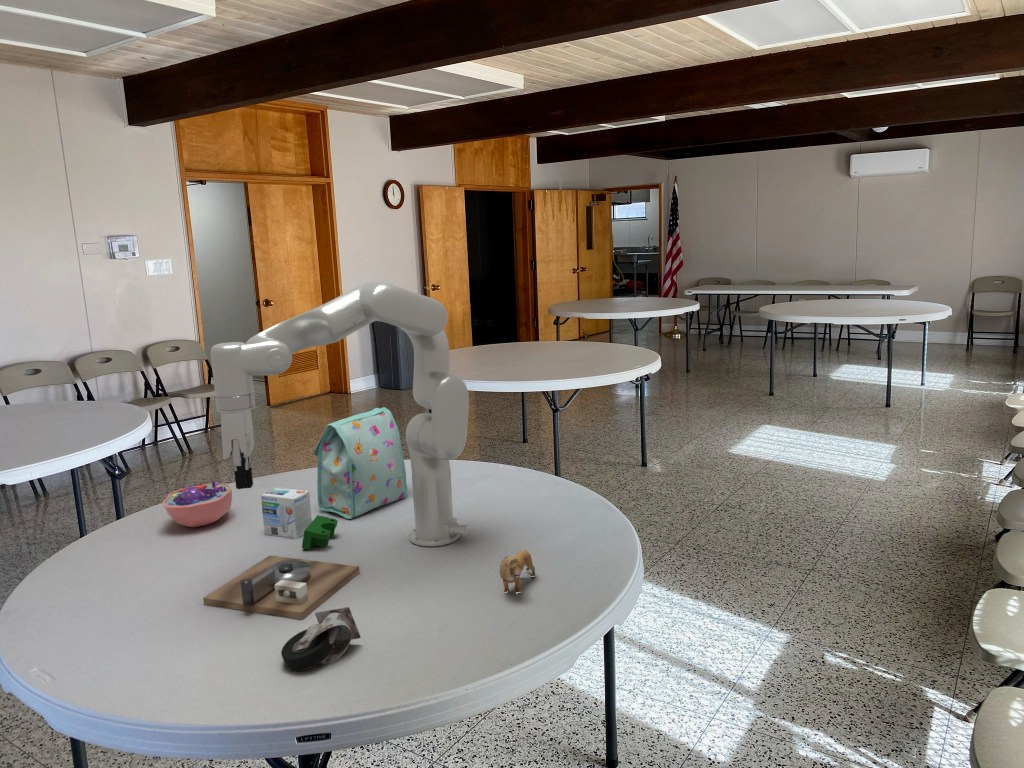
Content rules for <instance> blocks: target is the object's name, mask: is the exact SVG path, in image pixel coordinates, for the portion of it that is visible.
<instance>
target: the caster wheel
mask: <svg viewBox="0 0 1024 768" xmlns="http://www.w3.org/2000/svg"><path fill="white" fill-rule="evenodd" d="M314 616H315V617H316V620H317V623H316V624H312V625H310V626H309V627H308V628H307V629H304V630H301V631H300V632H298V633H297V634H295V635H293V636H292V637H290V639H289V638H288V640H287V642H286V643H285V644H284V645H283V647H282V649H281V652H280V653H281V658H282V660H283V663H284V664H285V666H286V668H287V669H288V670H290V671H293V672H301V671H307V670H308V669H311V668H313V667H315V666H317V665H318V664H329V663H333V662H335V661H337V660H338V659H339V658H341V657H342V655H343V654H344V653H345V652H346V650H347V649H348V648H349V645H350V643H351V641H352V640H358V639H361V637H362V636H361V633H360V632H359V629H358V627H357V623H356V621H355V619H354V616H353V614H352V611H351V609H350V607H347V606H346V607H339V608H334V609H329V610H322V611H316V612H314Z"/></svg>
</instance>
